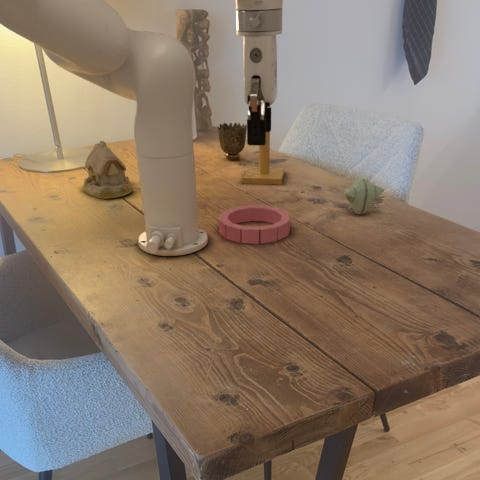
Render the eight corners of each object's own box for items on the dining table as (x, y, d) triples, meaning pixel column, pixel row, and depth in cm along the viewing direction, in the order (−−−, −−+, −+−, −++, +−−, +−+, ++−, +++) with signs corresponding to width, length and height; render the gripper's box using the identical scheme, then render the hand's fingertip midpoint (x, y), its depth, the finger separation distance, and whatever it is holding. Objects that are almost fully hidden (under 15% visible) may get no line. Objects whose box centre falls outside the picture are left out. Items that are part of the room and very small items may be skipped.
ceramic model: (77, 185, 131) (68, 138, 125) (122, 178, 135) (116, 132, 129) (96, 202, 122) (87, 152, 115) (144, 193, 126) (139, 144, 120)
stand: (281, 184, 130) (283, 120, 121) (242, 183, 131) (242, 119, 122) (284, 173, 137) (286, 112, 128) (247, 172, 138) (247, 111, 129)
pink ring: (286, 245, 102) (287, 230, 100) (214, 242, 103) (214, 228, 102) (291, 219, 112) (292, 206, 110) (226, 217, 113) (225, 204, 112)
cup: (241, 164, 143) (241, 129, 138) (214, 162, 145) (213, 127, 140) (250, 156, 149) (250, 122, 144) (224, 154, 151) (223, 121, 146)
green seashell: (344, 219, 111) (348, 183, 107) (337, 212, 114) (340, 177, 110) (382, 215, 113) (387, 180, 108) (374, 209, 116) (378, 174, 111)
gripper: (277, 28, 85) (275, 150, 96) (286, 18, 98) (283, 127, 109) (228, 28, 86) (232, 150, 97) (243, 18, 99) (245, 126, 110)
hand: (259, 137), depth 103 cm, fingers open, 9 cm apart
